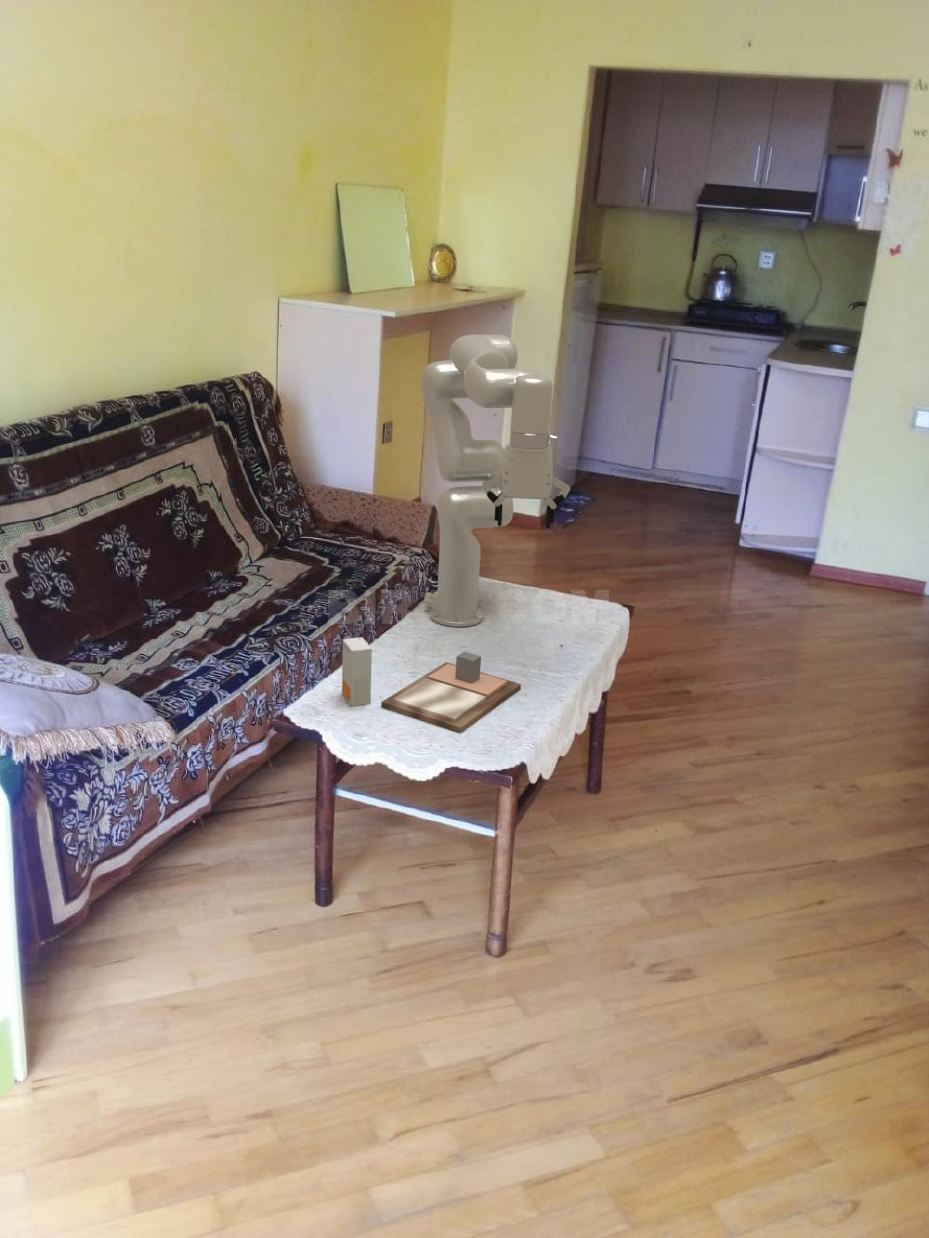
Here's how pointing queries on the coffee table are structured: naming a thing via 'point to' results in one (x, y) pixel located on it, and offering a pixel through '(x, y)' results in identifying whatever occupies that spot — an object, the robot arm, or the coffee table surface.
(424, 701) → the board
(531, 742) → the coffee table surface
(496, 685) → the peach lid with handle
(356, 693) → the skincare box
